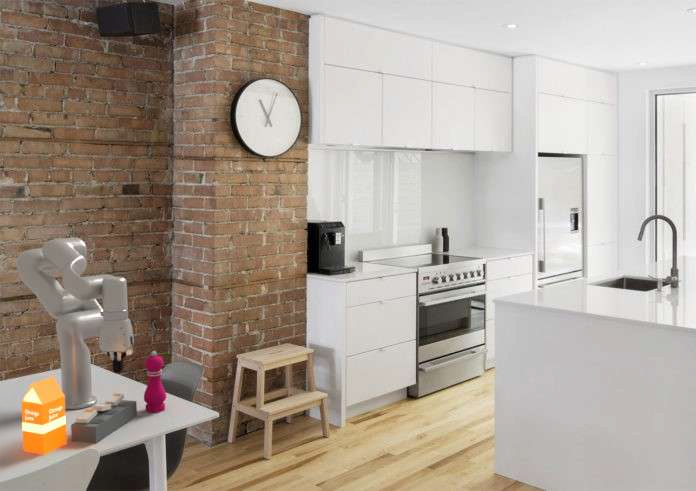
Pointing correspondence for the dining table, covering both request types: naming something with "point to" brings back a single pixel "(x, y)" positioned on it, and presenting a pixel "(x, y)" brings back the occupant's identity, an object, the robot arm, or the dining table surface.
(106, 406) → the block
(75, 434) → the power strip
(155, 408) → the pepper mill
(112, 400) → the plate
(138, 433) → the dining table surface
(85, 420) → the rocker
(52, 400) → the orange juice
